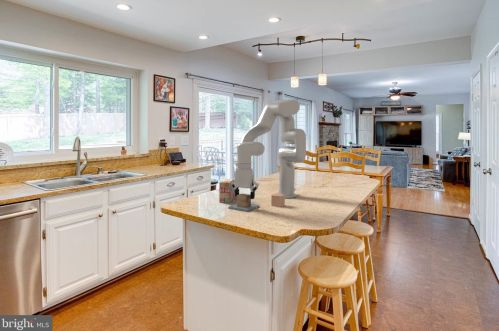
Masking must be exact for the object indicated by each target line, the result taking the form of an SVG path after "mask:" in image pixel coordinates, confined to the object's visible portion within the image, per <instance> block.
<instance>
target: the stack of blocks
mask: <svg viewBox="0 0 499 331" xmlns="http://www.w3.org/2000/svg"><path fill="white" fill-rule="evenodd" d="M232 180H234V178H222V179H221V180H220V181H219V182H218V183H219V185H218V189H219V194H218V195H219V197H218V198H219V199H218V200H219V202H218V203H220V204H222V203H223V204H225V203H226V204H231V202H232V201H233V199H234V198H235V190H234V188H233V186H232V184H231V181H232Z"/></svg>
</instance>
